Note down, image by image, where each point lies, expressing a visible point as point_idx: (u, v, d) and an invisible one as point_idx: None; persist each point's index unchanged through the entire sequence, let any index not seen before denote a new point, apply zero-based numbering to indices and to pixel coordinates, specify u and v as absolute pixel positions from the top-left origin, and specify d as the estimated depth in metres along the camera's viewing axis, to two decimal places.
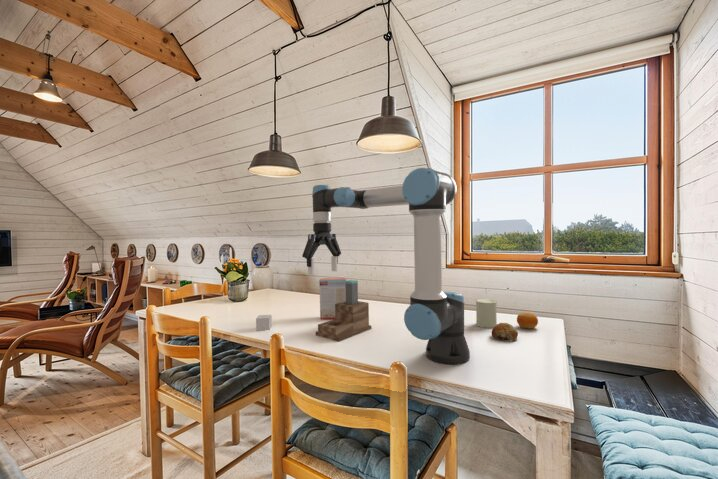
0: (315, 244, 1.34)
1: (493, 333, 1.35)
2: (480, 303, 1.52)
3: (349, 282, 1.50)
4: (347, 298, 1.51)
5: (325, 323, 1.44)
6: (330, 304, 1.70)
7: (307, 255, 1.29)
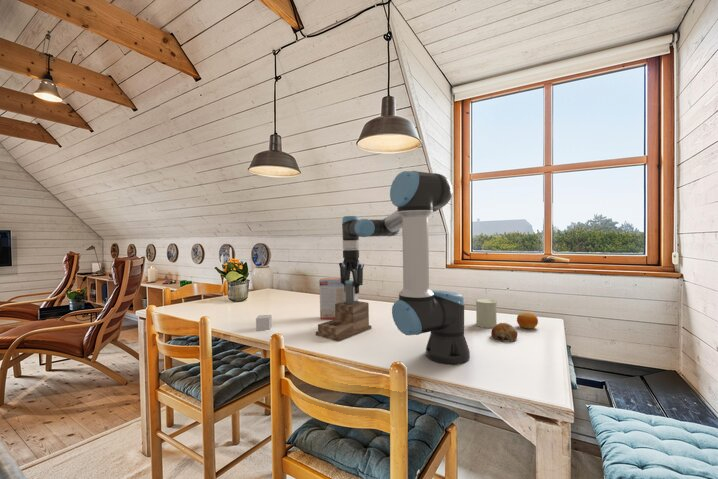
0: None
1: (493, 333, 1.35)
2: (480, 303, 1.52)
3: (349, 282, 1.50)
4: (347, 298, 1.51)
5: (325, 323, 1.44)
6: (330, 304, 1.70)
7: (341, 282, 1.54)
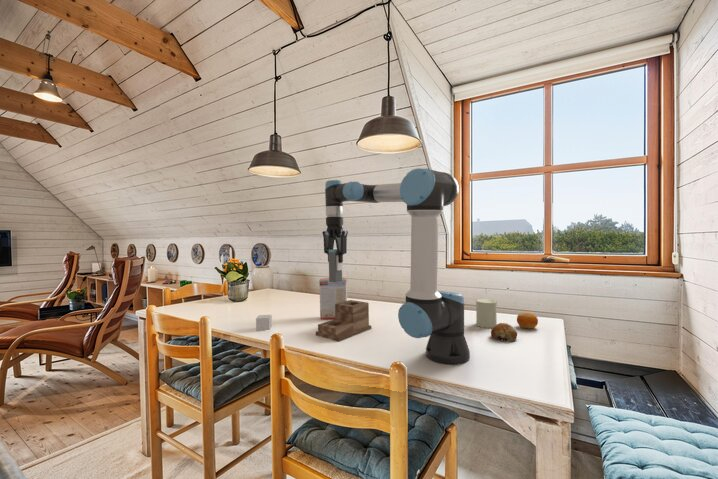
0: None
1: (492, 333, 1.35)
2: (480, 303, 1.52)
3: (332, 250, 1.41)
4: (330, 268, 1.42)
5: (325, 323, 1.44)
6: (330, 304, 1.70)
7: (324, 251, 1.46)
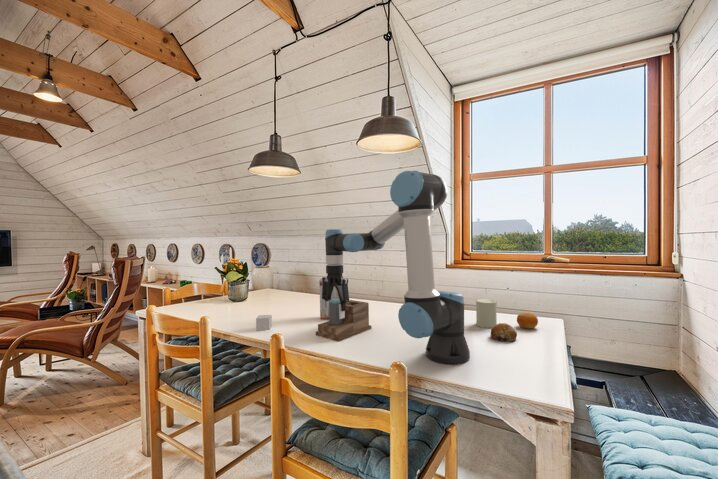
0: None
1: (492, 334, 1.35)
2: (480, 303, 1.52)
3: (333, 301, 1.41)
4: (331, 318, 1.42)
5: (325, 323, 1.44)
6: None
7: (322, 297, 1.46)
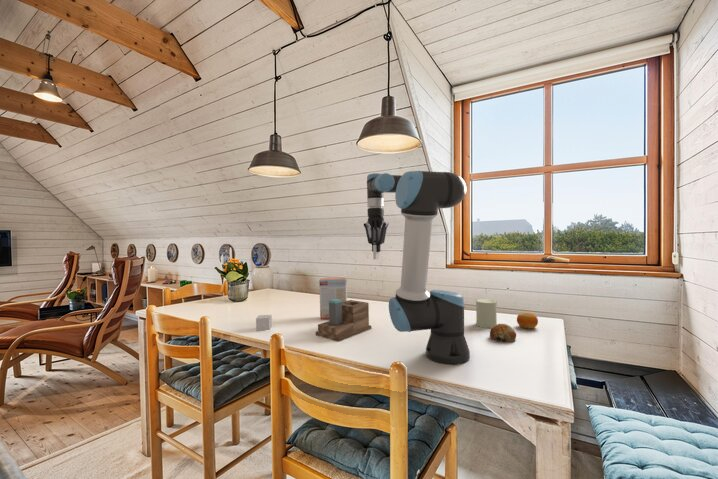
0: None
1: (491, 334, 1.34)
2: (480, 303, 1.52)
3: (333, 301, 1.41)
4: (331, 318, 1.42)
5: (325, 323, 1.44)
6: None
7: (368, 241, 1.52)
